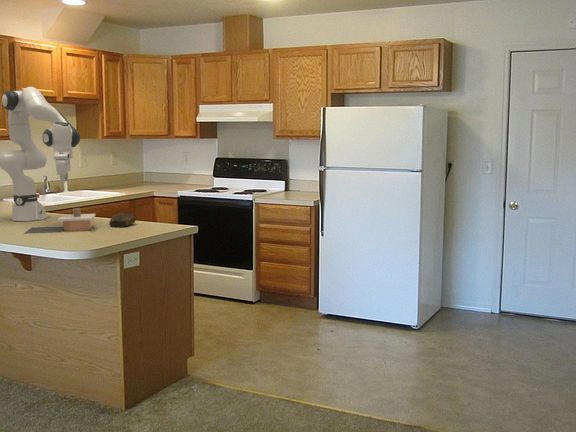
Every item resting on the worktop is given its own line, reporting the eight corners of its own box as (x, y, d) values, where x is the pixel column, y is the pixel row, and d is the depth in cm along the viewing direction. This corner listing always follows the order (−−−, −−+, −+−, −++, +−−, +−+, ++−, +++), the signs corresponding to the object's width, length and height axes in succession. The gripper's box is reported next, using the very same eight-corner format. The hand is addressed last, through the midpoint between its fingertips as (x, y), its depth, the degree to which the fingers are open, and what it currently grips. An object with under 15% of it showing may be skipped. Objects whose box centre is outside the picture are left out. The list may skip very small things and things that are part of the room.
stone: (107, 228, 335) (106, 217, 334) (120, 221, 348) (119, 211, 347) (125, 229, 333) (124, 218, 332) (137, 223, 346) (137, 212, 345)
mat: (31, 228, 332) (31, 227, 332) (66, 227, 335) (66, 226, 335) (23, 234, 313) (23, 233, 313) (59, 233, 316) (59, 232, 316)
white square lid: (63, 216, 332) (62, 206, 332) (95, 215, 335) (95, 206, 334) (57, 221, 317) (57, 210, 316) (91, 220, 319) (91, 210, 319)
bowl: (66, 228, 332) (66, 216, 331) (92, 227, 334) (92, 216, 333) (62, 232, 319) (61, 220, 318) (89, 231, 321) (89, 219, 321)
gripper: (60, 153, 334) (61, 179, 337) (53, 156, 315) (54, 184, 317) (72, 153, 336) (73, 179, 338) (66, 156, 316) (67, 184, 318)
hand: (64, 181), depth 327 cm, fingers open, 8 cm apart
